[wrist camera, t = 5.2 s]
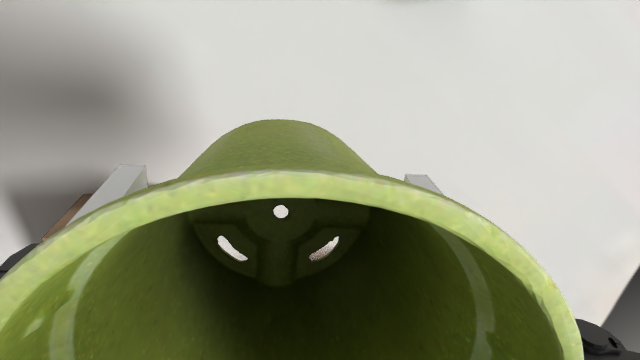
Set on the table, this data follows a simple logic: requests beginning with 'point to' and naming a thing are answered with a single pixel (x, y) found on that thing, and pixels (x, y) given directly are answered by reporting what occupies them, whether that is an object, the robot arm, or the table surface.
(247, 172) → the plant pot
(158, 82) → the table surface
